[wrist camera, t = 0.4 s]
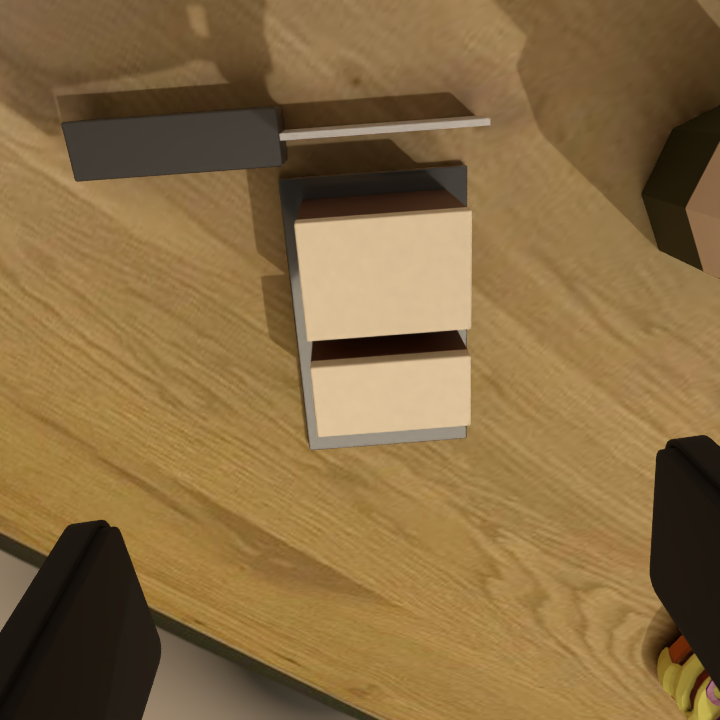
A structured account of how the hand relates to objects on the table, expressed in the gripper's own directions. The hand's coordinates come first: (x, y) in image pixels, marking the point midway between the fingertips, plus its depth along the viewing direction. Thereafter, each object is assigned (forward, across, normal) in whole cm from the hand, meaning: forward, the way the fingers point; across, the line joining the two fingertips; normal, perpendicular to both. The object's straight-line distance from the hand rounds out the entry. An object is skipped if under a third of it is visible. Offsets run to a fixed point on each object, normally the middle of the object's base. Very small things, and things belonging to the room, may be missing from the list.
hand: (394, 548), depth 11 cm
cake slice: (+22, -1, +5) cm, 22 cm away
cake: (+22, -1, 0) cm, 22 cm away
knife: (+22, +2, -6) cm, 23 cm away
